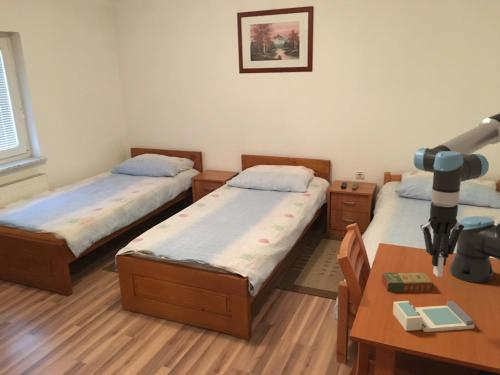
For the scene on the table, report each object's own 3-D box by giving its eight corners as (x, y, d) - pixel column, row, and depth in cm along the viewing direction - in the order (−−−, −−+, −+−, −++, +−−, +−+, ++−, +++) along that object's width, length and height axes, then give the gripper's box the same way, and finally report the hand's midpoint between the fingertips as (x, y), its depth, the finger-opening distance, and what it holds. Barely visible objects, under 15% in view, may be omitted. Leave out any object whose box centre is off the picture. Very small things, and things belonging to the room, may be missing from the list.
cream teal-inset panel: (453, 308, 145) (454, 300, 145) (473, 328, 134) (474, 320, 133) (407, 311, 144) (408, 303, 144) (424, 332, 133) (425, 324, 132)
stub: (407, 312, 143) (408, 300, 142) (421, 329, 134) (422, 316, 132) (392, 313, 143) (393, 301, 142) (405, 330, 133) (406, 317, 132)
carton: (431, 292, 157) (432, 281, 156) (387, 292, 158) (388, 282, 156) (423, 281, 165) (424, 271, 164) (381, 281, 166) (381, 271, 164)
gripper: (458, 198, 133) (451, 268, 139) (417, 200, 132) (412, 270, 138) (472, 205, 125) (464, 279, 132) (429, 208, 125) (423, 281, 131)
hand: (437, 274), depth 135 cm, fingers closed
